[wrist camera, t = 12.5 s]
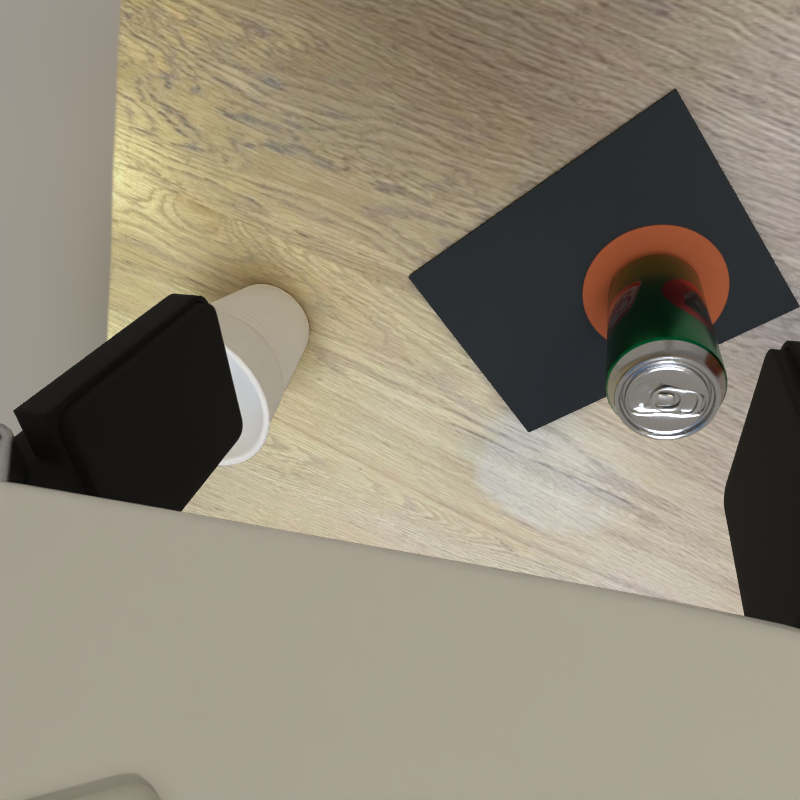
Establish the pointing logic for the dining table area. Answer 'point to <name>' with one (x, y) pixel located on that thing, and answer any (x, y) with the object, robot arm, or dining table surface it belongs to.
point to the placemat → (598, 262)
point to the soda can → (662, 350)
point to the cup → (260, 357)
